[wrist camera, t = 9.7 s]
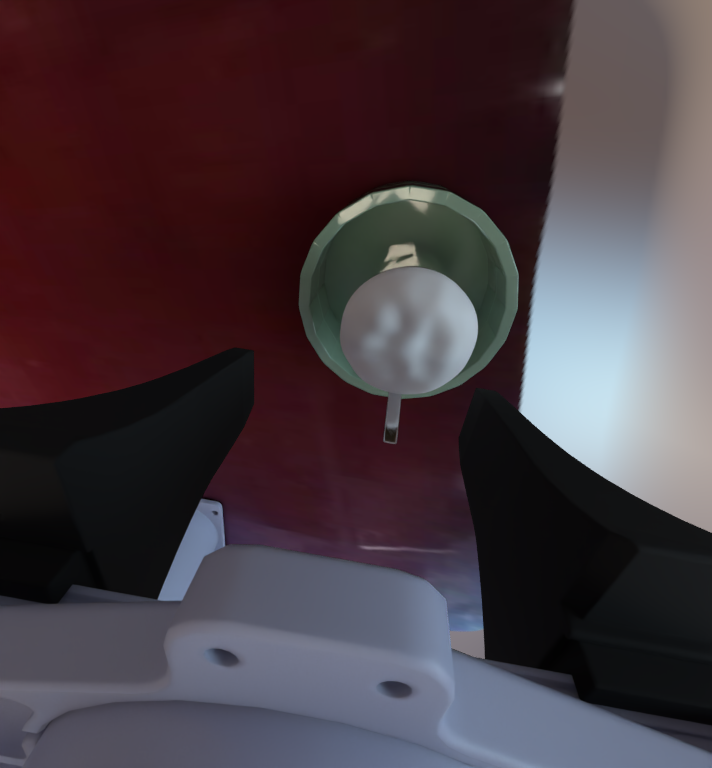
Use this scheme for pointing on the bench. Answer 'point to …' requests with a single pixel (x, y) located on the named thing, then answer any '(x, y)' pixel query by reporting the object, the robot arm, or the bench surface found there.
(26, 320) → the bench surface
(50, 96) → the bench surface
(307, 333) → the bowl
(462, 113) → the bench surface
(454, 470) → the bench surface
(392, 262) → the milkshake cup
